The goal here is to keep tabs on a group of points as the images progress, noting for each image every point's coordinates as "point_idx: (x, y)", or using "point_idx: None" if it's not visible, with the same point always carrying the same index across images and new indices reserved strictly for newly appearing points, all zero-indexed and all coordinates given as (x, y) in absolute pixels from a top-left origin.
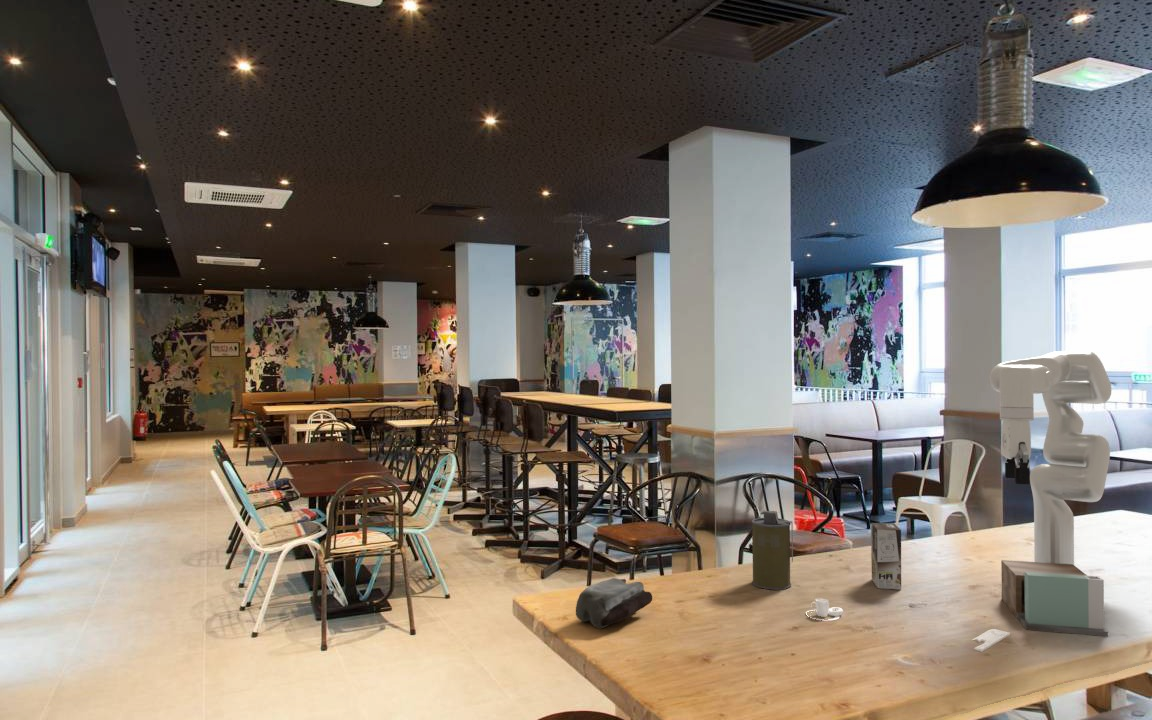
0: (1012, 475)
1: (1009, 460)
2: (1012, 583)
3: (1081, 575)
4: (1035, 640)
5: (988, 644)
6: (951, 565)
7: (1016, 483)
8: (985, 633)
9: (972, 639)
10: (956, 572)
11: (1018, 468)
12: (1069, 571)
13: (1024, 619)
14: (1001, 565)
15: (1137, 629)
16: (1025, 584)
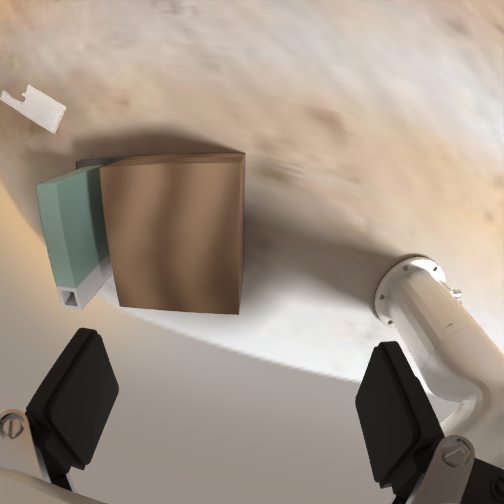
0: (369, 386)
1: (417, 475)
2: (138, 161)
3: (74, 284)
4: (45, 165)
5: (13, 105)
6: (467, 133)
7: (83, 330)
8: (45, 101)
9: (29, 85)
10: (425, 123)
11: (37, 421)
12: (169, 288)
13: (100, 163)
14: (240, 161)
15: (140, 312)
16: (65, 177)
